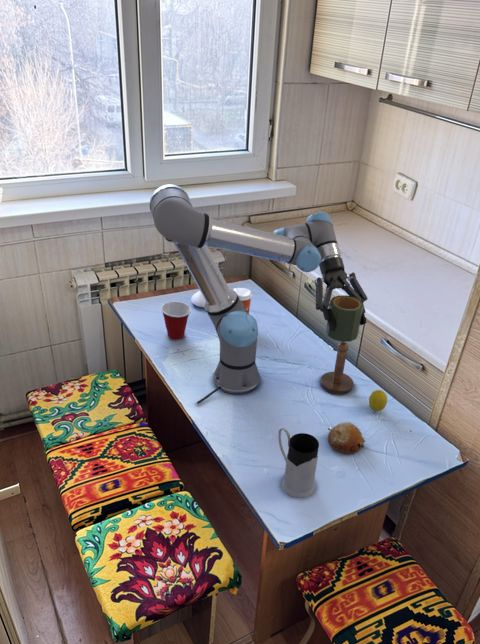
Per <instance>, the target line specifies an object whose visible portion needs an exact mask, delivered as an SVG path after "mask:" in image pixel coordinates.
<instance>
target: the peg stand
mask: <svg viewBox="0 0 480 644" xmlns="http://www.w3.org/2000/svg"><path fill="white" fill-rule="evenodd" d="M336 349H337V351H336V358H335V364H334V368H333V369H334V370H333V371H327V372H325V373H324V374H322V376H320V382H319V383H320V386H321V388H322V389H323V390H324V391H325V392H327V393H329V394H332V395H337V396H338V395H339V396H341V395H342V396H343V395H347V394H349V393H350V392H352V391H353V389H354V380H353V378H352V377H351V376H350V375H348V374H346V373H344V372H345V371H344V370H345V364H346V359H347V353H348V351H349V344H348V342H341V341H339V342H338V344H337V347H336Z"/></svg>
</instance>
